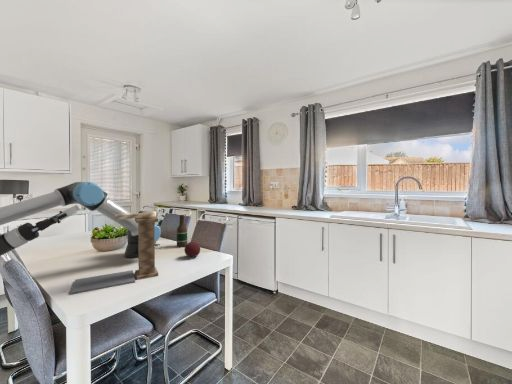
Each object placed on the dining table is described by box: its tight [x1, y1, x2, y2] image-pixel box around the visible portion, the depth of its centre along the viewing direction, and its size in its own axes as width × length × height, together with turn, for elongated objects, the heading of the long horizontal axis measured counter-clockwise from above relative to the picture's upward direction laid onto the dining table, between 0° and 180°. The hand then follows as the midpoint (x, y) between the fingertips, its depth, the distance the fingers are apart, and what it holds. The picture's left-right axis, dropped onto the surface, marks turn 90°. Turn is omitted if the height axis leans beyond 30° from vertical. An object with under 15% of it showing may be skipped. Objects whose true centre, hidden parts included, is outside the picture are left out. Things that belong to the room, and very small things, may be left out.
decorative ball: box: [184, 241, 201, 258], centre depth 155 cm, size 10×10×10 cm
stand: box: [134, 217, 159, 280], centre depth 125 cm, size 10×10×30 cm
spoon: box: [115, 210, 157, 220], centre depth 121 cm, size 19×7×3 cm, turn 121°
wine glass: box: [155, 224, 162, 247], centre depth 182 cm, size 8×8×15 cm
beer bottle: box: [176, 214, 188, 248], centre depth 180 cm, size 8×8×24 cm
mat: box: [70, 269, 136, 295], centre depth 116 cm, size 25×16×1 cm, turn 121°
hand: (76, 208), depth 111 cm, fingers open, 13 cm apart
